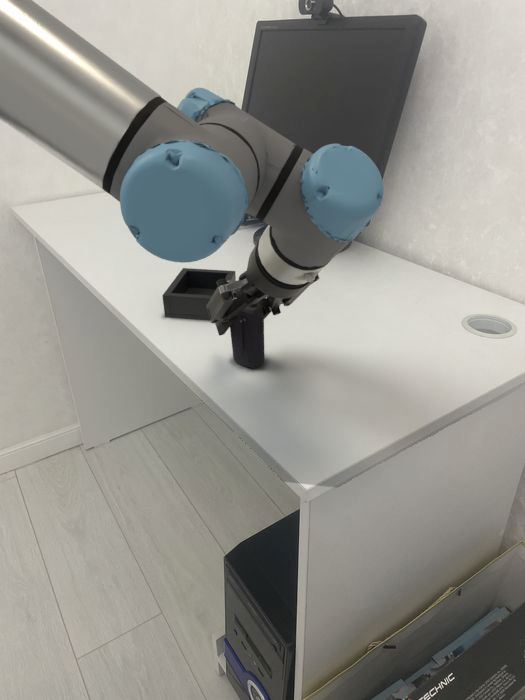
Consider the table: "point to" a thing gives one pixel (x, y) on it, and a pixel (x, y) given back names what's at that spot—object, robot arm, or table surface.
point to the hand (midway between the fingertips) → (235, 322)
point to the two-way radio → (248, 336)
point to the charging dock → (193, 292)
